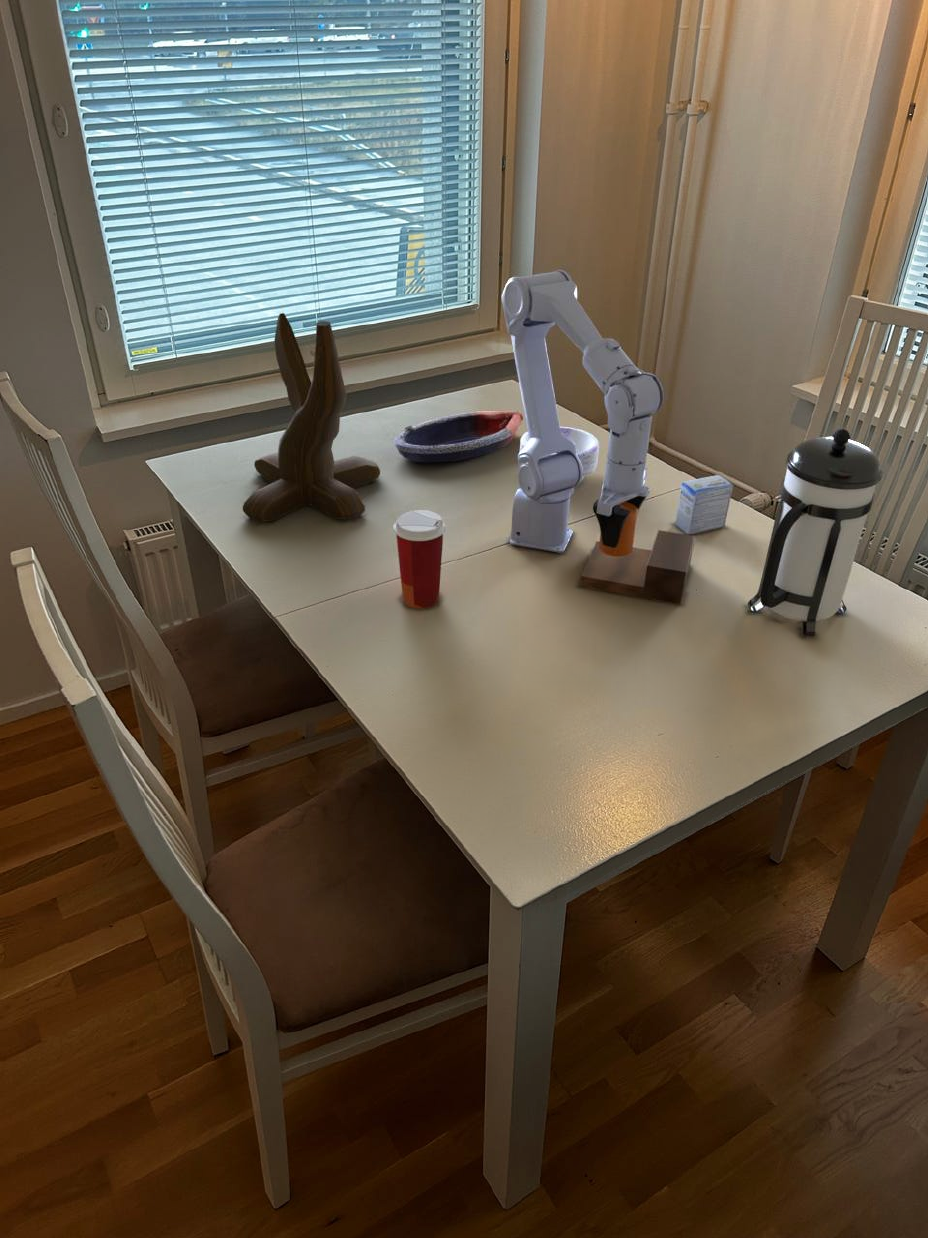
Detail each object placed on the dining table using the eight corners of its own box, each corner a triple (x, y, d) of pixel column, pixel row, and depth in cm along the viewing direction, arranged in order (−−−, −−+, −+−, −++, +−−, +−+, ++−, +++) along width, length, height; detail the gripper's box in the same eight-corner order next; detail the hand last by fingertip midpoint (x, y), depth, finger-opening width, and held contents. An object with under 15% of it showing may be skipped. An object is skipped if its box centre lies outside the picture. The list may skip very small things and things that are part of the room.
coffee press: (733, 581, 149) (770, 405, 132) (834, 588, 148) (884, 411, 131) (749, 644, 135) (793, 456, 118) (861, 651, 134) (921, 462, 117)
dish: (379, 449, 191) (378, 426, 188) (503, 421, 204) (504, 399, 201) (415, 477, 180) (414, 453, 177) (543, 446, 193) (545, 423, 190)
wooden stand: (414, 503, 171) (410, 312, 151) (271, 545, 157) (246, 342, 137) (341, 449, 190) (329, 274, 171) (208, 482, 177) (178, 297, 157)
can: (624, 559, 141) (629, 519, 137) (593, 550, 143) (597, 511, 139) (637, 545, 145) (642, 506, 141) (606, 536, 147) (611, 497, 143)
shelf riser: (580, 586, 148) (583, 554, 144) (595, 551, 157) (598, 520, 154) (680, 604, 144) (686, 572, 140) (689, 567, 153) (695, 535, 150)
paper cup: (452, 591, 146) (452, 513, 138) (435, 616, 140) (434, 536, 132) (406, 582, 148) (404, 504, 140) (387, 607, 142) (384, 527, 134)
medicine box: (710, 517, 168) (718, 473, 163) (725, 527, 164) (734, 484, 160) (674, 524, 165) (681, 481, 160) (688, 536, 162) (696, 491, 157)
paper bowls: (565, 455, 189) (568, 418, 185) (611, 483, 179) (615, 445, 174) (503, 470, 183) (505, 433, 178) (547, 501, 172) (550, 462, 168)
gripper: (633, 482, 128) (622, 565, 136) (669, 446, 139) (657, 525, 146) (587, 470, 131) (579, 552, 139) (626, 436, 142) (616, 514, 149)
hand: (616, 537), depth 143 cm, fingers closed on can, 5 cm apart
